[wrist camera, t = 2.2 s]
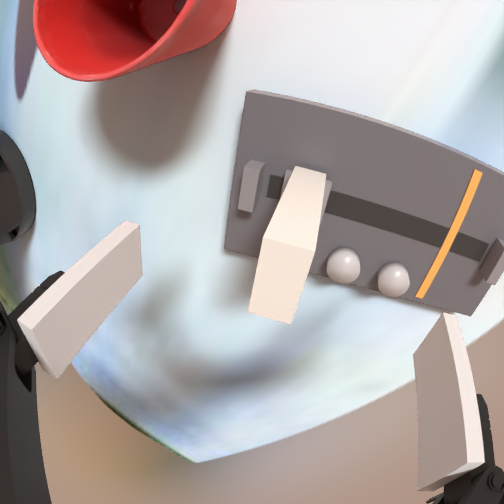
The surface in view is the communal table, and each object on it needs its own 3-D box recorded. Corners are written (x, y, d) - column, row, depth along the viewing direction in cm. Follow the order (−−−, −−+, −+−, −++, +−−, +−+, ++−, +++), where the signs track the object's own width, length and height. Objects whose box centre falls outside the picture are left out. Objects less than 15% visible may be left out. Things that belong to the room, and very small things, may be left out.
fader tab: (277, 215, 22) (236, 308, 14) (288, 162, 20) (250, 233, 12) (319, 227, 22) (301, 327, 14) (334, 174, 19) (328, 254, 12)
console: (231, 235, 27) (217, 259, 24) (254, 89, 20) (238, 93, 17) (465, 301, 24) (475, 329, 21) (526, 184, 17) (547, 203, 14)
